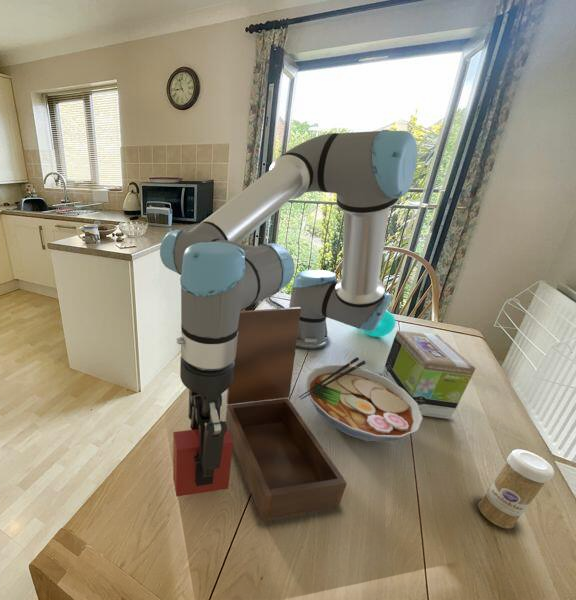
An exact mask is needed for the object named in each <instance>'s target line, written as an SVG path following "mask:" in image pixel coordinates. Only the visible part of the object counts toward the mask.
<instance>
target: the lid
mask: <svg viewBox="0 0 576 600" xmlns="http://www.w3.org/2000/svg"><path fill="white" fill-rule="evenodd" d="M300 313H301V308H300V307H293V308H289V307H284V308H281V307H280V308H267V309H264V308H263V309H253V310H241V311H240V315H239V323H238V339H237V349H236V356H235V360H234V361H235V364H234V374H233V382H232V384H231V386H230V387H229V388H228V389H227V390H226V391H227V392H226V404H227V405H234V404H242V403H251V402H259V401H268V400H277V399H286V398H288V399H289V398H290V393H291V386H292V380H293V371H294V366H295V365H294V364H295V357H296V356H295V355H296V350H297V347H296V343H297V335H298V328H299V320H300Z"/></svg>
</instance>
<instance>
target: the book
mask: <svg viewBox="0 0 576 600" xmlns="http://www.w3.org/2000/svg"><path fill="white" fill-rule="evenodd" d="M172 443H173V444H172V449H173V450H172V477H173V485H174V492H175V497H184V496H189V495H196V494H202V493H209V492H215V491H216V492H217V491H221V490H228V489H229V484H230V477H231V476H230V475H231V467H232V466H231V465H232V457H233V450H234V448H233V440H232V438H231V435H230V433H229V430H228V428H227V431H226V433H225V435H224V440H223V448H222V456H221V464H220V468H217V469H214V472H213V484H208V485H202V486H196V482H195V481H196V463H195V460H194V456H197V454H199V429H194V430H191V429H186V430H178V431H173V432H172Z"/></svg>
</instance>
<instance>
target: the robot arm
mask: <svg viewBox="0 0 576 600" xmlns="http://www.w3.org/2000/svg"><path fill="white" fill-rule="evenodd" d="M418 152H419V151H418V143H417V139H416V137H415V136H414V134H412V132H410V131H408V130H391V129H382V130H373V131H371V130H370V131H356V132H355V131H354V132H331V133H325V134H320V135H318V136H315V137H312V138H309V139H307V140H305V141H302V142H301V143H299V144H297V145H295V146H293V147H292V148H290V149H289V150H287V151H285V152H284V153H282V154H281V155H279V156H278V157H277V158H276V159H275V160H273V161H272V163H271V165H270V166H269V169H268V171H266V172H265V173H264V174H263V175H260V177H258V178H257V179H256V180H254V181H253V182H252V183H250V184H249V185H248V186H247V187H245V188H244V189H243V190H241V191H240V192H239V193H238V194H236V195H235V196H234V197H232V198H231V199H230V200H228V201H227V202H226V203H225V204H223V205H222V206H220V207H219V208H217V210H215V211H214V212H213V213H212V214H210V215H209V216H208V217H206V218H205V219H203V220H202V221H201V222H200V223H198V224H197V225H196V226H194V227H193V228H192V229H190V230H187V229H174V230H171V231H169V232H167V234H166V235H165V236H164V238H163V239H162V241H161V243H160V247H159V256H160V261H161V262H162V264H163V266H164V267H165V268H167V269H168V270H170V271H172V272H173V273H177V274H178V275H180V278H179V280H180V281H179V282H180V283H179V284H180V313H181V314H180V318H181V319H180V320H181V321H180V329H181V331H180V333H181V336H177V337H176V344H178V345H180V355H181V356H180V361H179V362H180V365H179V366H180V369H179V371H180V372H179V377H180V380H181V381H180V382H181V383H182V384H183V385H184V387H185V388H186V389H188V415H187V416H188V419H189V420H190V425H189V426H190V430H194V429H199V454H197V456H194V460H195V463H196V481H195V482H196V486H202V485H208V484H213V472H214V469H217V468H220V464H221V456H222V448H223V440H224V435H225V433H226V431H227V424H226V420H221V407H222V405H223V395H222V394H223V393H224V392H226V391H227V389H228V388H229V387H230V386H231V384H232V382H233V374H234V364H235V361H234V360H235V356H236V349H237V339H238V323H239V315H240V311H243V310H244V309H246V308H248V307H250V306H252V305H254V304H256V303H258V302H260V301H262V300H264V299H266V298H268V301H269V302H271V303H272V304H274V305H276V306H278V307H280V308H285V306H284V305H282V304H280V303H278V302H276V301H274V300H272V299H271V297H272V296H274V295H277V293H279V291H281V290H283V289H284V288H286V287H287V286H289V284H290V283H291V281H292V280H293V283H292V285H291V293H290V299H289V306H288V308H293V307H300V308H301V313H300V320H299V328H298V335H297V343H296V348H301V349H306V350H314V349H315V350H316V349H321V348H324V347H325V346H326V345H327V344H328V339H329V333H328V326H327V318H328V319H331V320H334V321H336V322H339V323H342V324H344V325H348V326H350V327H353V328H355V329H358V330H362V331H363V330H367V331H373V330H375V329H376V327H377V326H378V324H379V323H380V321H381V319H382V317H383V316H384V314H385V312H386V310H387V311H388V308H389V305H390V304H391V301H392V299H393V295H392V294H391V293H389V292H388V291H385V290H386V287H385V284H384V282H383V281H382V280H381V279H380V277H381V271H382V263H383V257H384V249H385V240H386V235H387V228H388V221H389V213H390V208H392V207H394V206H395V205H397V203H398V202H399V200H400V198H403V197H405V196H406V194H408V192H409V191H410V189H411V187H412V185H413V182H414V179H415V173H416V171H417V165H418ZM311 192H313V193H314V192H319V193H320V192H321V193H330V194H336V205H337V208H339V209H340V210H341V211H342V212H343V229H342V231H343V232H342V233H343V234H342V260H341V261H342V264H341V278H340V279H339V280H337V274H336V273H335V272H332V271H330V270H323V269H308V270H303V271H300V272H298V273H297V274H295V261H294V258H293V256H292V254H291V253H290V252H289V250H288V249H287V248H286V247H284V246H283V245H280V244H279V243H275V242H273V243H272V242H271V243H260V244H258V245H251V244H249V245H248V244H245V243H242V242H243V241H245V240H246V239H247V238H248V237H249V236H250V235H252V233H254V232H255V231H256V230H257V229H258V228H259V227H260V226H262V225H263V224H264V223H265V222H267V220H269V218H271V217H273V215H275V213H276V212H278V211H279V210H280V209H282V208H283V207H284V205H286V204H287V203H288V202H289V201H291V200H295V199H298V198H300V197H302V196H303V195H304V194H306V193H311ZM294 275H295V276H294ZM293 277H294V279H293Z"/></svg>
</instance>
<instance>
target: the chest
mask: <svg viewBox="0 0 576 600" xmlns="http://www.w3.org/2000/svg"><path fill="white" fill-rule="evenodd" d="M225 413H226V414H225V422H226V424H227V428H228V430H229V433H230V435H231V438H232V440H233V450H234V452H235V455H236V458H237V460H238V463H239V466H240V468H241V471H242V473H243V476H244V478H245V481H246V484H247V486H248V488H249V492H250V494H251V496H252V499H253V501H254V504H255V507H256V510H257V512H258V515H259V518H260V520H261V521H265V520H271V519H276V518H282V517H287V516H294V515H300V514H304V513H310V512H317V511H322V510H327V509H333V508H339V506H340V504H341V501H342V498H343V496H344V493H345V490H346V487H347V484H348V483H347V481H346V480H345V478H344V477H343V475H342V474H341V473H340V471H339V470H338V468H337V467H336V465H335V464H334V462H333V461H332V459H331V458H330V457H329V456H328V454H327V452H326V451H325V450H324V448H323V447H322V445H321V443H320V442H319V440H318V439H317V438H316V437H315V435H314V433H313V432H312V430H311V429H310V428H309V426H308V425H307V424H306V422H305V420H304V419H303V418H302V416H301V415H300V414H299V411H298V410H297V409H296V408H295V406H294V405H293V403H292V401H290V399H289V398H280V399H272V400H263V401H254V402H246V403H237V404H227V405H226V412H225Z"/></svg>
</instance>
